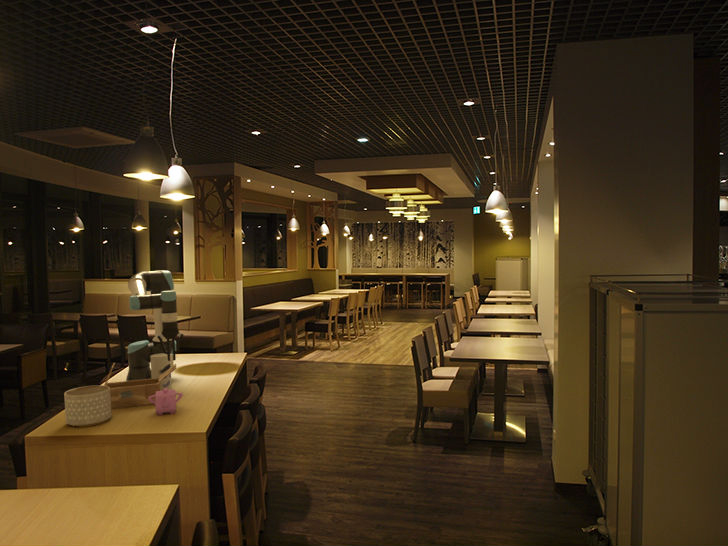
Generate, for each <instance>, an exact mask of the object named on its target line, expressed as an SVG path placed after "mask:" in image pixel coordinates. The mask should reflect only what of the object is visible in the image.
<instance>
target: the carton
mask: <svg viewBox="0 0 728 546" xmlns="http://www.w3.org/2000/svg"><path fill="white" fill-rule="evenodd" d="M105 386H109V387H110V397H111V410H113V409H114V410H115V409H123V408H133V407H142V406H149V405H150V406H152V405H154V404H153V403H151V402H150V401H149V400H148V397H150V396H153V395H156V391H161V381H160V382H159V378H154V379H144V380H133V381H126V380H123V381H115V382H107V383H106V385H105ZM152 400H153V401H154V402H155V397H153V398H152Z"/></svg>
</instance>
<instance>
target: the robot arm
mask: <svg viewBox="0 0 728 546" xmlns="http://www.w3.org/2000/svg"><path fill="white" fill-rule="evenodd" d="M127 288H128V290H129V291H130V293H131V295H130V296H129V297H128V305H129V310H131V311H143V310H145V311H146V310H153V317H154V337H153V338H152V342H150V341H149V340H147V339H146V340H140V341H135V342H132V343H130V344H128V346H127V358H128V361H127V362H128V372H127V375H126V379H125V381H133V380H144V379H152V376H151V357H150V356H151V355H155V354H163V353H164V354H167V355H168V361H170V366H171V368H172V367H174V365H175V363H174V361H176V358H177V357H176V356H177V355H176V354H178V353H180V348H181V343H182V339H183V337H184V333H183V332H182V333H181V332H180V330H179V328H178V327H179V325H178V321H177V320H178V307H177V306H178V305H177V304H178V303H177V292H176V290H175V285H174V279H173V276H172V273H171V271H169V270H151V271H150V270H149V271H140V272H138V273H135V274H134V275H133V276H131V277H130V278H129V280H128V283H127ZM147 292H150V294H148V293H147ZM177 337H179V338H178V341H177V340H175V339H176V338H177Z"/></svg>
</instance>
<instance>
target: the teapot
mask: <svg viewBox="0 0 728 546" xmlns="http://www.w3.org/2000/svg"><path fill="white" fill-rule="evenodd" d="M176 395H178V397H176ZM183 396H184V395H183V393H182V392H176V389H172V390H168V389H167V388H165V389H164V390H163V391H156V395H153V396H150V397H148V400H149V401H150V402H151V403H153V404H152V405H155V414H157V416H162V415H163V414H164V413H165V414H166V413H169V414H170V415H174V414H175V412H176V411H177V403H178V402H179V401H180V400H181V399H182V398H183ZM153 397H155V402H154V401H153V400H152V398H153Z"/></svg>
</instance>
